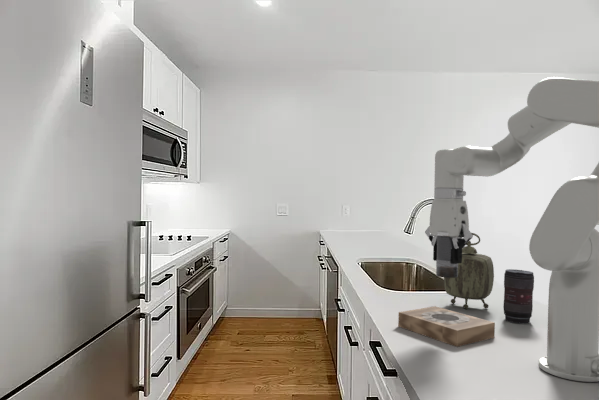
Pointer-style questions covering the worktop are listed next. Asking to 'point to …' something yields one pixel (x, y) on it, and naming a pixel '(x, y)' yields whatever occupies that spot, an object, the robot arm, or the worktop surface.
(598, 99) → the robot arm
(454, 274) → the shiny metal canister
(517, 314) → the camera lens
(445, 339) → the mount board
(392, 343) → the worktop surface
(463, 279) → the tabletop clock
